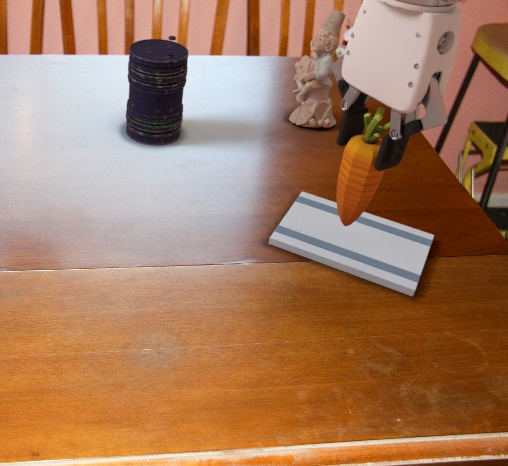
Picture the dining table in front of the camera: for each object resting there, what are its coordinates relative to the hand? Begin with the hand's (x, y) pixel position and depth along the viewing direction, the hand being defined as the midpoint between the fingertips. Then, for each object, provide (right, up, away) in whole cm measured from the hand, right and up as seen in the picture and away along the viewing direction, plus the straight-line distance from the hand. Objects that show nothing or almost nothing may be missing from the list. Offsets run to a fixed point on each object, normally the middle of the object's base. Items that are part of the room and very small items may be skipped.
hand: (366, 153), depth 71 cm
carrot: (-1, -8, +6) cm, 10 cm away
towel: (+5, -10, +22) cm, 25 cm away
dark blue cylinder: (-24, +9, +44) cm, 51 cm away
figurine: (+6, +12, +52) cm, 53 cm away
